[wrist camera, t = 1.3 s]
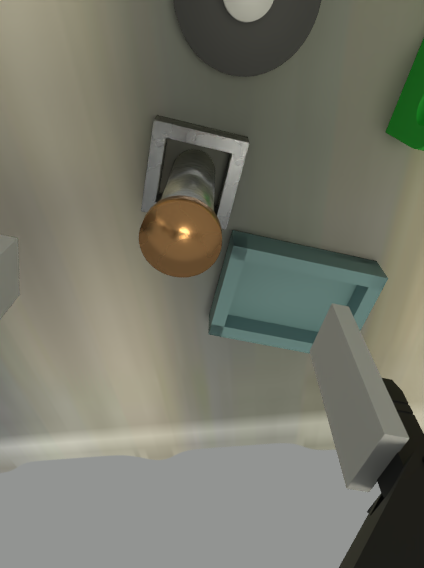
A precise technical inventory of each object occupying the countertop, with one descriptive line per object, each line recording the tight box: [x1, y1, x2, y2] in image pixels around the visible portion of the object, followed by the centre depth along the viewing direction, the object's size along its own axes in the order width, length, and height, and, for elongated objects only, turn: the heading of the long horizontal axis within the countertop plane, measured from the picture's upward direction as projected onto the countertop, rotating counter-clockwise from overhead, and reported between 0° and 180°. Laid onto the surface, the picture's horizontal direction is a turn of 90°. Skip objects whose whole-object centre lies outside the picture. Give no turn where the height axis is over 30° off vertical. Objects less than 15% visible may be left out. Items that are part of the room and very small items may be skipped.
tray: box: [209, 230, 388, 353], centre depth 37 cm, size 13×9×3 cm
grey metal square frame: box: [141, 115, 249, 229], centre depth 32 cm, size 7×7×2 cm
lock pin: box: [139, 149, 222, 277], centre depth 27 cm, size 4×4×13 cm
